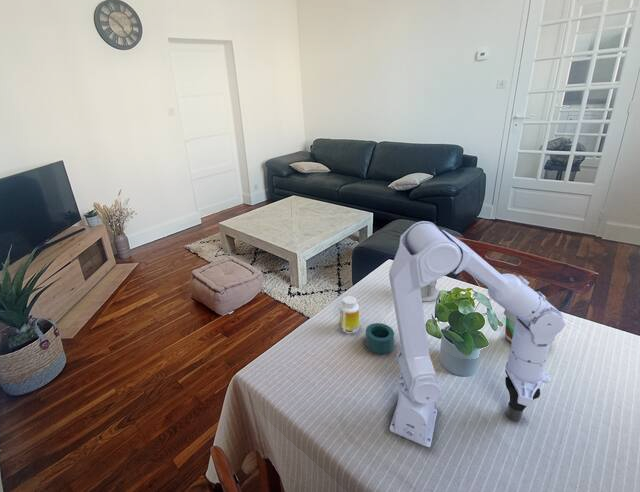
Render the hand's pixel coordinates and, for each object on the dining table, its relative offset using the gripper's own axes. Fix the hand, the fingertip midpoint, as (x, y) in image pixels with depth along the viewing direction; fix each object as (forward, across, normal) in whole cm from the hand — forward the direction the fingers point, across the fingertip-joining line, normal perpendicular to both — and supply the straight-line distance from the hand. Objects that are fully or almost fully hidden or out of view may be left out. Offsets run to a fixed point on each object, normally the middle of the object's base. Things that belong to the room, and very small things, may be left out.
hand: (516, 404), depth 70 cm
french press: (-9, +39, +25) cm, 47 cm away
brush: (+3, 0, 0) cm, 3 cm away
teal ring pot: (+3, +9, +31) cm, 32 cm away
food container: (+4, +25, -4) cm, 26 cm away
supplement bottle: (+4, +12, +41) cm, 43 cm away
